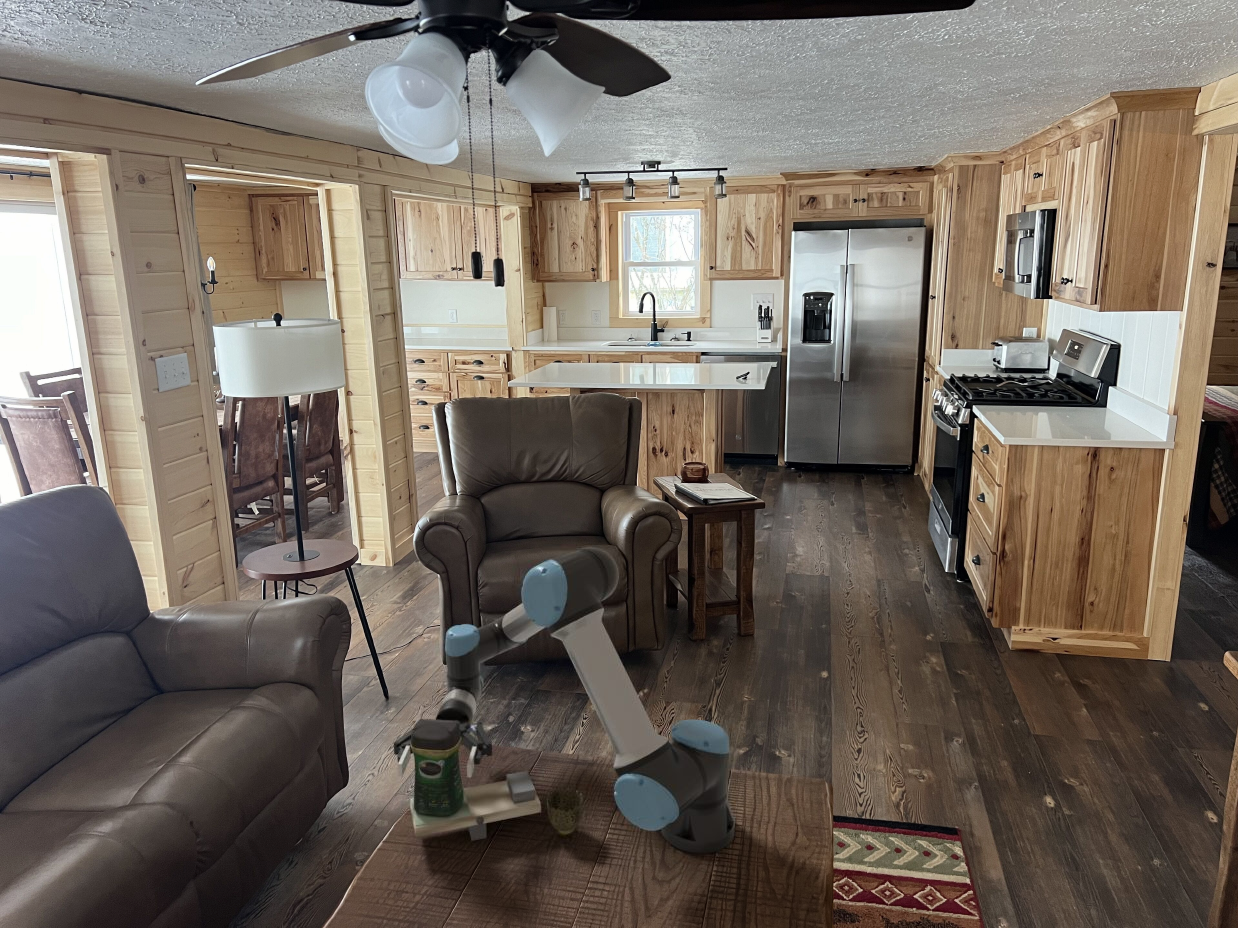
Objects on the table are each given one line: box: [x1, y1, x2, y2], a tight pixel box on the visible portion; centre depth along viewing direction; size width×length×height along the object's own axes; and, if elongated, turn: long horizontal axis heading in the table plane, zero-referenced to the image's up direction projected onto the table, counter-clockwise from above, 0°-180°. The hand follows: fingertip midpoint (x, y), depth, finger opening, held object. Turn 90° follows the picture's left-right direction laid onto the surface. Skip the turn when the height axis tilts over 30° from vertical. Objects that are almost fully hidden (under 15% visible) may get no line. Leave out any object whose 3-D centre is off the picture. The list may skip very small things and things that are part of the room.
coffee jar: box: [410, 718, 464, 817], centre depth 171 cm, size 10×8×19 cm
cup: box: [546, 787, 584, 837], centre depth 175 cm, size 8×7×8 cm
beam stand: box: [467, 823, 487, 842], centre depth 176 cm, size 7×3×4 cm, turn 19°
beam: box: [409, 770, 542, 838], centre depth 175 cm, size 11×25×4 cm, turn 109°
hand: (434, 770), depth 167 cm, fingers open, 13 cm apart
